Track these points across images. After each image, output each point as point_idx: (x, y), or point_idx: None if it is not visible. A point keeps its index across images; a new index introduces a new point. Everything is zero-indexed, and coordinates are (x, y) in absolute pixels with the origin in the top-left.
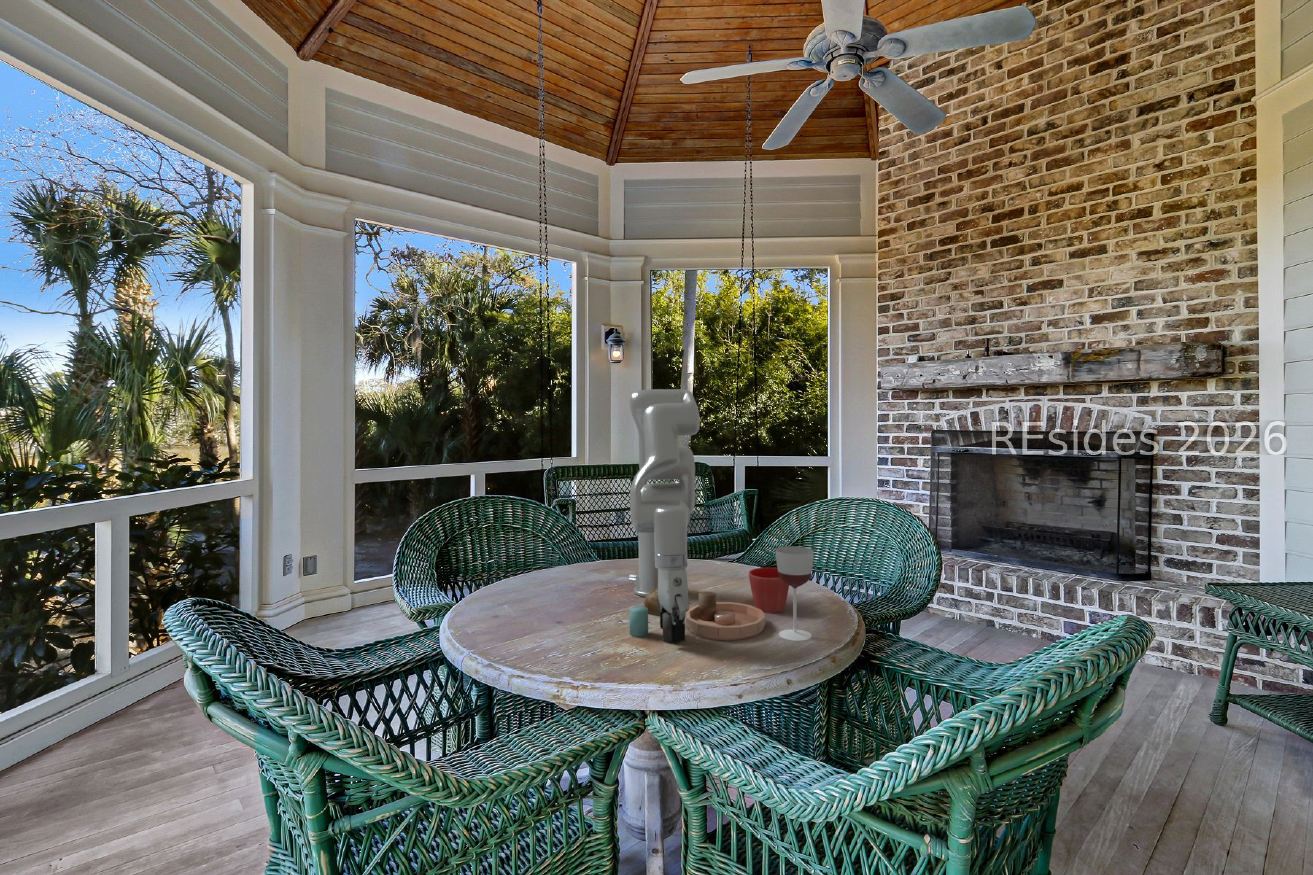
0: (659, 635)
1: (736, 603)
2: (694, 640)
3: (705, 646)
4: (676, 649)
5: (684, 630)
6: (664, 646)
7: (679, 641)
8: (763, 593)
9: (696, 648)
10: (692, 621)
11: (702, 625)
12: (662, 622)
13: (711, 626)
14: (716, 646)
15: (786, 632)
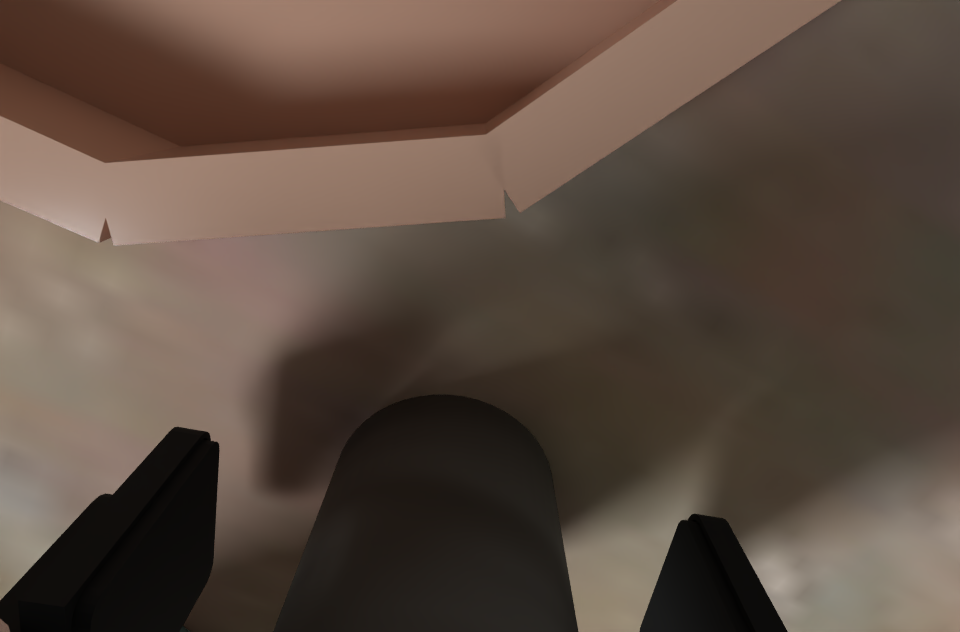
0: (247, 543)
1: None
2: (589, 288)
3: (843, 270)
4: None
5: (775, 620)
6: None
7: (548, 467)
8: None
9: (822, 390)
10: (316, 230)
11: (591, 165)
12: (177, 629)
13: (767, 46)
14: (943, 143)
15: None
